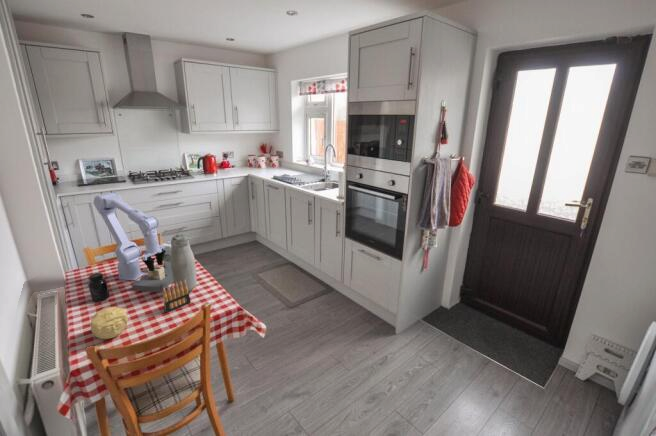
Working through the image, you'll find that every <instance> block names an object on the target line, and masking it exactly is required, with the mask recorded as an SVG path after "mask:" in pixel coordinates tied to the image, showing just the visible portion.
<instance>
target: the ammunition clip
mask: <svg viewBox="0 0 656 436" xmlns="http://www.w3.org/2000/svg"><path fill="white" fill-rule="evenodd" d="M183 284H184V289H183V286H182V282H181V281H180V283H179V286H180V291H179V288H178V284H177V282H176V284H174V283H171V284H170V285H171V286H169V285H168V286H167V287H166V288H164V287H163V291H162V298H163V308H164V309H163V310H164V313H165V314H168V313H170V312H173V311H175V310H177V309H180V308H182V307H184V306H187V305H189V304H191V297H190V294H189V291H188V288H187V284H186V281H185V279H184V282H183Z"/></svg>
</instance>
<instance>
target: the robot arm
mask: <svg viewBox="0 0 656 436" xmlns="http://www.w3.org/2000/svg"><path fill="white" fill-rule="evenodd" d="M93 206H94V207H95V209H96V210H97V212H98V214H100V216H101V218H102V221H104V223H105V225H106V227H107V229H108V230H109V232H110V235H111V236H112V238H113V239H114V241H115V242H116V245H117V246H116V248H115V249H114V253H115V256H116V260H117V261H118V263H117V268H116V269H117V272H118V277H119V278H118V279H117V280H123V281H138V280H139V279H140V278H142V277H143V276H145V275H146V272H143V271H141V270H142V269H141V265H140V260H139V259H140V257H141V261H142V262H143V263H144V264H145V265H146V267H147V270H148V269H149V271H154V266H155V260H156V263H157V265H158V266H162V265H163V266H164V262H163V258H164V254H165V252H166V251H165V250H163V249H164V248H165V247H164V245H162V244H160V241H159V237H158V231H157V228H158V227H159V220H158V219H157V218H156V217H155V216H154V215H153V216H151V215H147V214H145V213H144V212H143V211H141V210H140V209H139V208H133V207H132V206H131V205H129V204H128V203H126V202H125V201H124V200H123V197H122V195H120V194H119V193H118V192H116V191H112V192H109V193H106V194H105V193H104V194H101V195H96V196H94V198H93ZM116 210H119V211H121V212H122V213H125V214H126V215H127V216H128V219H129V220H131V221H132V222H134V223H135V224H136V225H138V228H139V229H140V232H141V234H142V235H143V239H144V244H145V245H144V246H145V250H146V251H145V252H144V254H142V250H141V248H140V247H139V246H138V245H137V244H136V242H134V241H131V240H130V239H129V238H128V236H127V234H126V232H125V230H124V229H123V227H122V225H121V223H120V221H119V219H118V218H117V216H116V215H115V211H116ZM152 256H155V257H152Z"/></svg>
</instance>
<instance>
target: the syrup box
mask: <svg viewBox="0 0 656 436" xmlns="http://www.w3.org/2000/svg"><path fill="white" fill-rule="evenodd" d="M161 245H164V247H165V248H164V249H163V250H165V251H166V252H165V254H164V258H163V267H164V268H167V269H171V261H170V259H171V241H165V242H164V243H162V244H161Z"/></svg>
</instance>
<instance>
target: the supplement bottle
mask: <svg viewBox="0 0 656 436" xmlns="http://www.w3.org/2000/svg"><path fill="white" fill-rule="evenodd" d="M88 278H89V282H88V283H87V285H88V289H89V293H90V294H89V295H90V299H91V301H92V302H93V303H102V302H104V301H106V300H108V299H109V298H110V297H111V296H110V290H109V286H108V281H107V279H106V278H105V277H104V276H103V273H102V272H95V273H92V274H89V276H88Z"/></svg>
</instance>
